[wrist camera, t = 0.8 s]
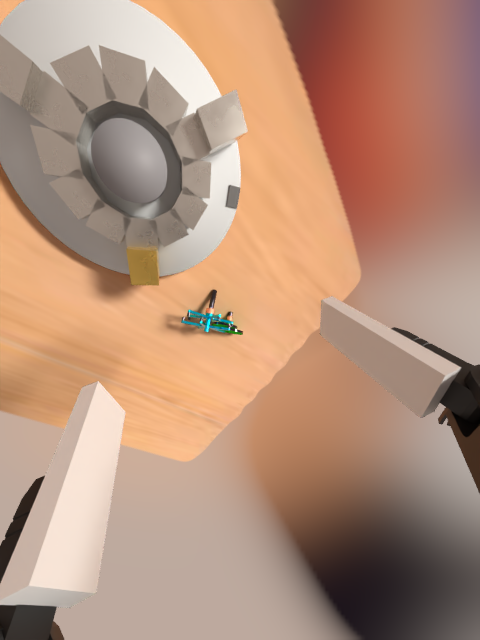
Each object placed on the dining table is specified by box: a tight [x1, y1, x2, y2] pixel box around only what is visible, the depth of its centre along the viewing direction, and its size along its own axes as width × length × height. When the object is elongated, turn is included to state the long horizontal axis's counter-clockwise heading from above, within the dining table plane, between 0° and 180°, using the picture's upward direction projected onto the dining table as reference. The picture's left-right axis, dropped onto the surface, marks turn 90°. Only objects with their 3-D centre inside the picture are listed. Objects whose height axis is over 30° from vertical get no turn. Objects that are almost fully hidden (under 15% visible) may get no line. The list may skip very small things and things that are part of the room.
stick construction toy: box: [181, 290, 243, 335], centre depth 34 cm, size 12×7×8 cm
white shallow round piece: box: [0, 0, 241, 276], centre depth 21 cm, size 24×24×7 cm
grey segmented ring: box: [0, 35, 248, 285], centre depth 21 cm, size 21×19×4 cm
